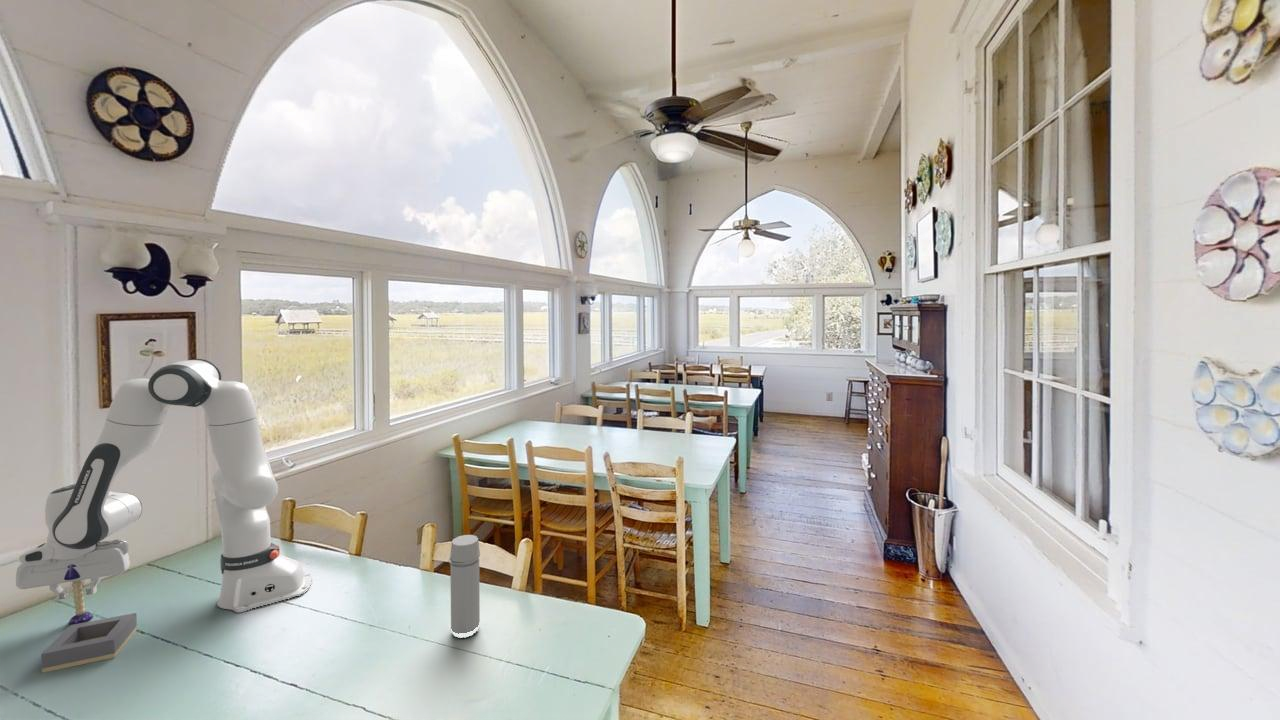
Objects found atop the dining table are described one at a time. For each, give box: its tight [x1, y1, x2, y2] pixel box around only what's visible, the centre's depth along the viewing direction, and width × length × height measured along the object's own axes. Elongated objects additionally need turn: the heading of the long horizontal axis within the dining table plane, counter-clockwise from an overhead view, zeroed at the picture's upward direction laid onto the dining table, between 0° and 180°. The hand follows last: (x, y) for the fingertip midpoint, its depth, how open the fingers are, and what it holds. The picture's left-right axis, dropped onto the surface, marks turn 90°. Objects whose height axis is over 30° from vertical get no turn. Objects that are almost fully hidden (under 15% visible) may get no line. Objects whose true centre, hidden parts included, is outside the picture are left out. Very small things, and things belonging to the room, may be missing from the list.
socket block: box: [40, 612, 138, 673], centre depth 120 cm, size 12×12×4 cm
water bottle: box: [447, 534, 481, 634], centre depth 130 cm, size 9×8×25 cm
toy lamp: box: [64, 564, 94, 626], centre depth 131 cm, size 5×5×17 cm
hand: (77, 595), depth 131 cm, fingers closed on toy lamp, 4 cm apart
